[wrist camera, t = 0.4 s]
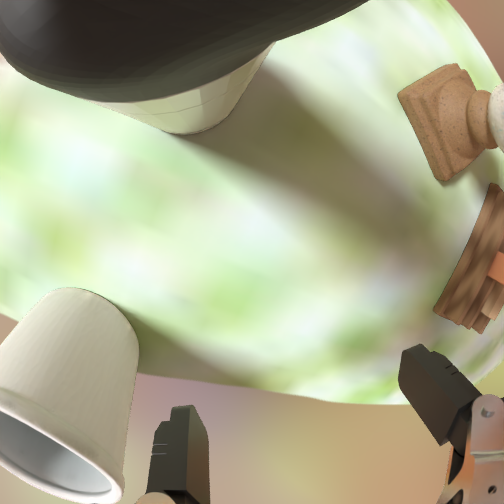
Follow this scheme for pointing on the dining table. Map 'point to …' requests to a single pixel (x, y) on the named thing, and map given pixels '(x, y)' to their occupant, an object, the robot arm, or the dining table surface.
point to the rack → (475, 267)
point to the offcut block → (494, 301)
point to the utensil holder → (68, 396)
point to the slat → (497, 268)
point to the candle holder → (453, 118)
